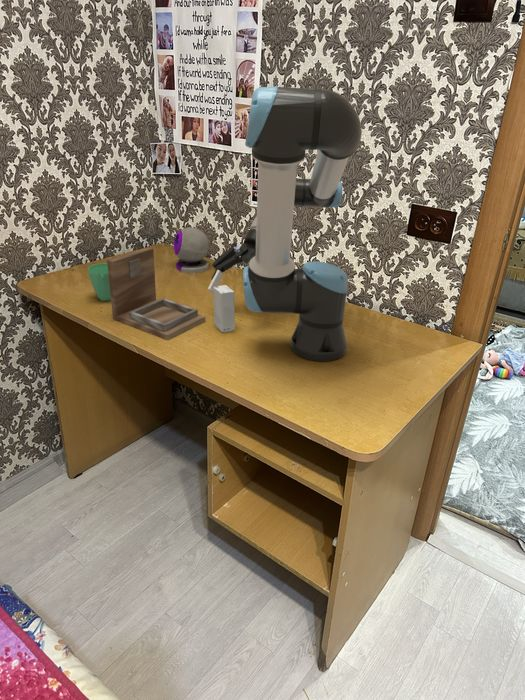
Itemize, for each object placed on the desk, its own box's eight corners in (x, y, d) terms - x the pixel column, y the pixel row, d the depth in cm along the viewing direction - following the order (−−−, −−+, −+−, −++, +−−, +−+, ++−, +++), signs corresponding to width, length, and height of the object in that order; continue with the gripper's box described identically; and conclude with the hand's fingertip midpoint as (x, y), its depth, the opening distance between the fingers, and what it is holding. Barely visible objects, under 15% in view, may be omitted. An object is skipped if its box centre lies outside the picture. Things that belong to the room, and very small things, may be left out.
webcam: (172, 262, 203) (170, 224, 196) (204, 260, 207) (204, 222, 200) (177, 274, 192) (176, 233, 185) (212, 271, 196) (212, 231, 189)
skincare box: (235, 330, 153) (236, 291, 147) (221, 333, 151) (221, 293, 145) (226, 322, 158) (227, 284, 152) (212, 324, 156) (212, 286, 150)
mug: (99, 306, 164) (96, 275, 159) (85, 296, 170) (82, 266, 166) (141, 296, 173) (139, 266, 168) (127, 287, 179) (124, 258, 174)
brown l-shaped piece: (205, 321, 158) (204, 263, 149) (167, 340, 146) (164, 278, 137) (151, 302, 168) (148, 247, 160) (112, 318, 156) (107, 260, 148)
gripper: (300, 250, 154) (269, 313, 150) (232, 233, 166) (202, 292, 162) (292, 236, 148) (259, 302, 144) (222, 220, 160) (190, 280, 156)
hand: (228, 297), depth 153 cm, fingers open, 13 cm apart
